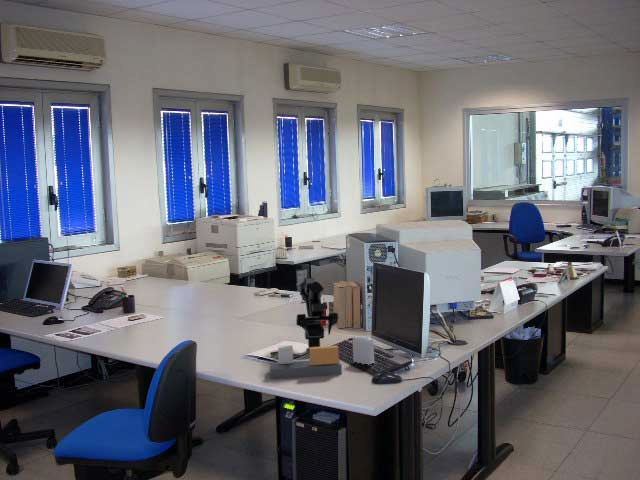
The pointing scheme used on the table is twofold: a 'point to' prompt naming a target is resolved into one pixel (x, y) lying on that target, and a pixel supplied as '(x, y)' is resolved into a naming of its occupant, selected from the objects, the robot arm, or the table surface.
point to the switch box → (303, 369)
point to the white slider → (285, 354)
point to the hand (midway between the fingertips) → (319, 335)
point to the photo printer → (363, 350)
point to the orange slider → (324, 355)
